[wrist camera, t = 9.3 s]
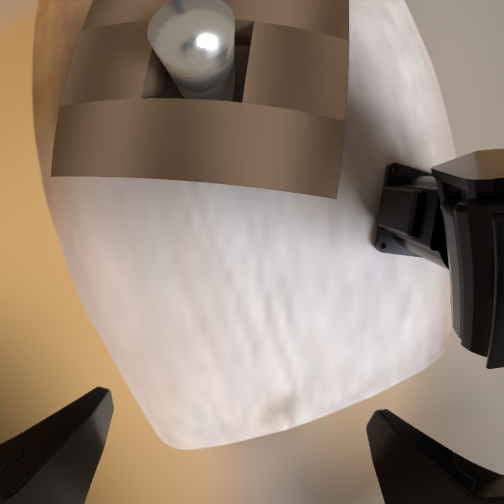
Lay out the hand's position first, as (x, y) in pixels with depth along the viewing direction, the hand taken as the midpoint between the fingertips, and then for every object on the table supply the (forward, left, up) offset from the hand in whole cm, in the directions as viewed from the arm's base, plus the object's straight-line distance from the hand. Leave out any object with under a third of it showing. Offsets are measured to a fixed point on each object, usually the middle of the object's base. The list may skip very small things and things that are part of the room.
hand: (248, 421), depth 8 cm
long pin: (+3, -13, -12) cm, 18 cm away
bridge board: (+3, -13, -12) cm, 18 cm away
